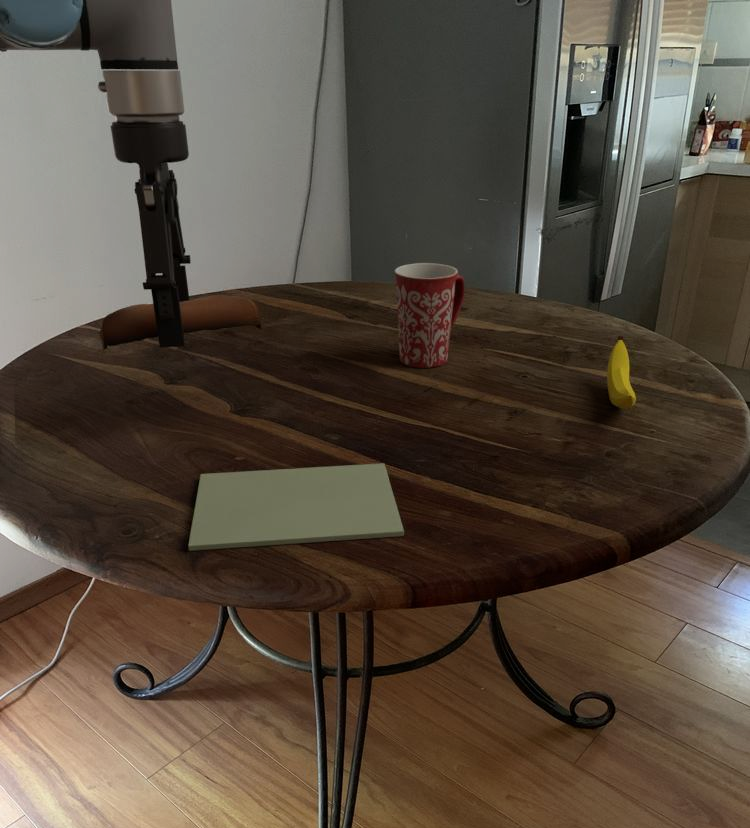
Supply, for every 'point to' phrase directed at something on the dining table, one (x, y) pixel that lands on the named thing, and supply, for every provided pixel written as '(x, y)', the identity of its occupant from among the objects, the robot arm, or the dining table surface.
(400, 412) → the dining table surface
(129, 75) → the robot arm
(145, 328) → the sunglasses case
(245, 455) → the dining table surface
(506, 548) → the dining table surface
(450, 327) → the mug
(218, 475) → the mat
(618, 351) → the banana
